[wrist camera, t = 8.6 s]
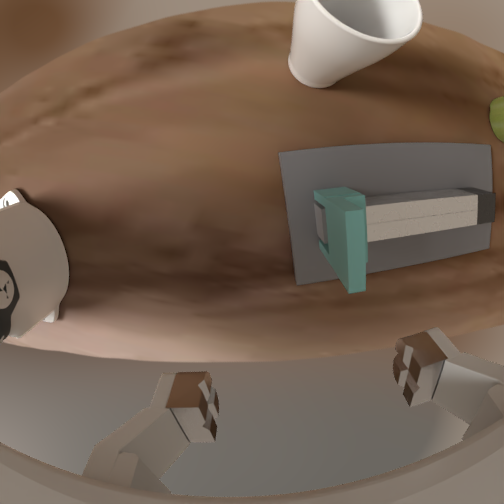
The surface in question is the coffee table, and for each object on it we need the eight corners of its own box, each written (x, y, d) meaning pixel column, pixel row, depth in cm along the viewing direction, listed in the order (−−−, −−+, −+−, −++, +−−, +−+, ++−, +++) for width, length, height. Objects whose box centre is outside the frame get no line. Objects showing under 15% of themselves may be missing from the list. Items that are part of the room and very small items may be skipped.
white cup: (360, 67, 23) (442, 12, 9) (319, 110, 24) (386, 69, 10) (308, 25, 21) (349, -62, 7) (265, 65, 23) (275, -17, 9)
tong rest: (295, 279, 30) (301, 299, 26) (278, 152, 26) (282, 152, 22) (482, 244, 28) (503, 256, 24) (482, 144, 24) (506, 146, 20)
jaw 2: (352, 229, 27) (367, 242, 23) (351, 214, 26) (366, 224, 22) (472, 213, 26) (494, 221, 22) (473, 200, 25) (495, 207, 21)
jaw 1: (351, 214, 26) (366, 224, 22) (350, 198, 26) (365, 206, 22) (473, 200, 25) (495, 207, 21) (472, 187, 25) (495, 193, 21)
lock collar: (319, 248, 27) (348, 294, 18) (313, 190, 25) (344, 210, 16) (349, 243, 27) (389, 286, 18) (345, 186, 25) (389, 205, 16)
